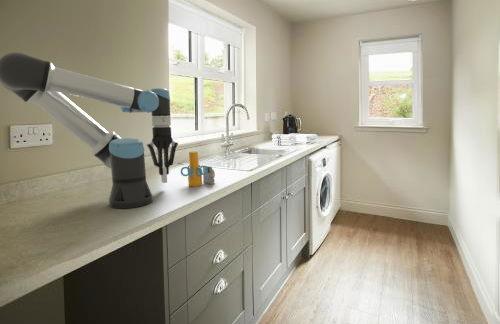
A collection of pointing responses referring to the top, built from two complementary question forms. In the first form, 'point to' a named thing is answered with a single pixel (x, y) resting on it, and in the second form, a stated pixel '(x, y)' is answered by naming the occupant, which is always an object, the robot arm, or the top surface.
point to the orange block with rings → (194, 170)
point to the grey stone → (208, 175)
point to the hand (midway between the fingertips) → (164, 182)
